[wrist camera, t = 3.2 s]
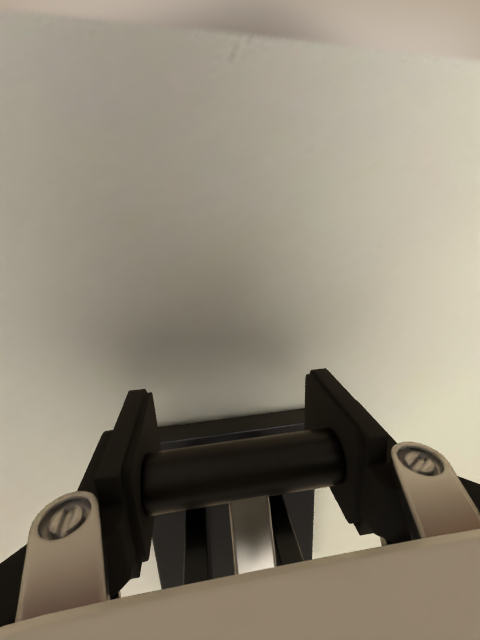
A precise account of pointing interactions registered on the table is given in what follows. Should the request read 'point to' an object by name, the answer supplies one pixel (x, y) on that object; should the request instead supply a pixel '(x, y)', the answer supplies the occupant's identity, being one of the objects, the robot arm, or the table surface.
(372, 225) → the table surface
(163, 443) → the bracket
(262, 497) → the lever
